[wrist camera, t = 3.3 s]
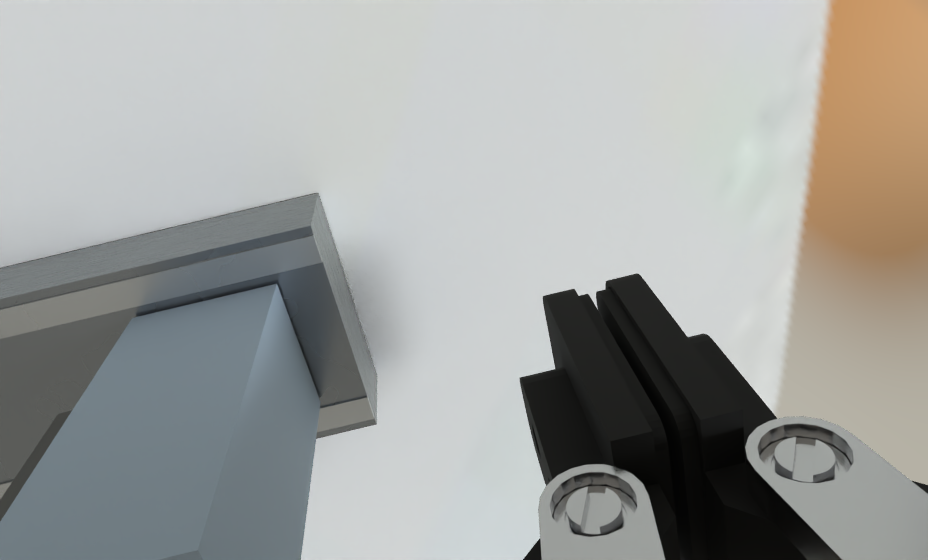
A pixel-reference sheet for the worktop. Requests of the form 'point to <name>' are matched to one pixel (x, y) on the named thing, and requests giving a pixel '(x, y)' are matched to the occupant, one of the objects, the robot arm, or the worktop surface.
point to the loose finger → (178, 445)
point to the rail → (170, 286)
